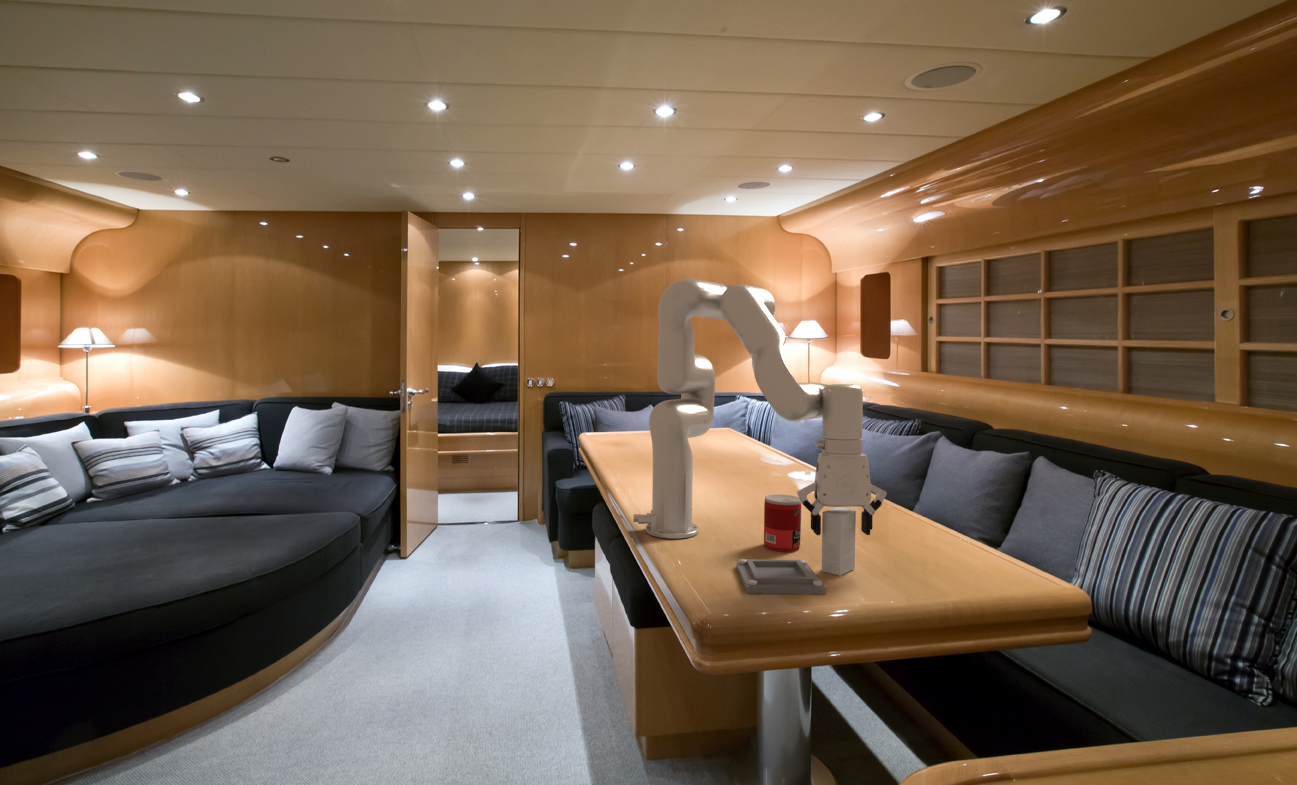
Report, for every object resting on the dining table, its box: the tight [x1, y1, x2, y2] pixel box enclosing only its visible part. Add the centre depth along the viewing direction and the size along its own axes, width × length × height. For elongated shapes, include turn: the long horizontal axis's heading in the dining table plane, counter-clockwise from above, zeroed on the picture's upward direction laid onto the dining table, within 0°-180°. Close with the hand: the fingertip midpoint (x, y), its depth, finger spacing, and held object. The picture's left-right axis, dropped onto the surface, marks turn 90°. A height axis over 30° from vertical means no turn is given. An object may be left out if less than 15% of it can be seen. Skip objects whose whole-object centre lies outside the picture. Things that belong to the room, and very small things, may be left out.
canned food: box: [763, 494, 802, 553], centre depth 142 cm, size 8×8×11 cm
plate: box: [735, 558, 827, 595], centre depth 121 cm, size 14×14×2 cm
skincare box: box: [821, 507, 857, 577], centre depth 127 cm, size 6×4×12 cm
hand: (841, 533), depth 126 cm, fingers open, 9 cm apart
